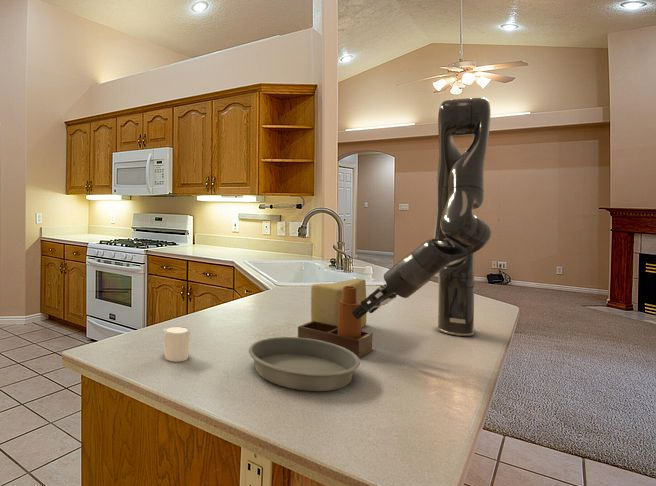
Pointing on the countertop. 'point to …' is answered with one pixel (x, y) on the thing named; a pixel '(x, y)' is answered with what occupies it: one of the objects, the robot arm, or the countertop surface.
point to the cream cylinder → (176, 343)
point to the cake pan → (304, 363)
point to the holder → (336, 337)
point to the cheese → (333, 300)
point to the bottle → (348, 314)
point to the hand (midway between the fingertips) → (361, 313)
